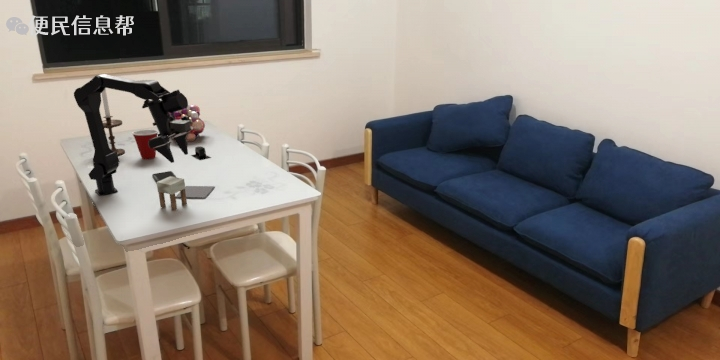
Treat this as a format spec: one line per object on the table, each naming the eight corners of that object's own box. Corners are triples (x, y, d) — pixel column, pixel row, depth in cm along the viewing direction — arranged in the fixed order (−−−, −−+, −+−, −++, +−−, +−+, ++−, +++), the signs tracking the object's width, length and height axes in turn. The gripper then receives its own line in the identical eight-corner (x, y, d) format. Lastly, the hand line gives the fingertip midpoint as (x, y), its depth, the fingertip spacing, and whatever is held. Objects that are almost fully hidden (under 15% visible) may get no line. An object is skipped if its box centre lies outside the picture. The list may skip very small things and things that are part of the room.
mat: (175, 198, 204) (175, 196, 203) (186, 187, 214) (186, 185, 214) (205, 198, 203) (205, 197, 203) (214, 187, 213) (214, 186, 213)
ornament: (213, 137, 284) (198, 100, 284) (204, 133, 265) (188, 94, 264) (179, 150, 283) (164, 113, 283) (168, 147, 264) (152, 108, 263)
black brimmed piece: (214, 159, 247) (213, 149, 246) (199, 162, 243) (198, 152, 241) (201, 152, 256) (200, 143, 254) (186, 156, 252) (185, 146, 250)
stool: (160, 207, 195) (156, 182, 192) (173, 201, 201) (170, 176, 197) (174, 210, 193) (170, 184, 189) (187, 204, 198) (184, 178, 195)
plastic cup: (165, 153, 253) (162, 128, 249) (155, 161, 243) (151, 134, 239) (142, 153, 254) (138, 127, 250) (131, 161, 244) (127, 134, 240)
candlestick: (121, 157, 249) (107, 78, 237) (97, 157, 250) (82, 78, 237) (131, 149, 260) (118, 73, 247) (107, 150, 260) (94, 74, 248)
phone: (159, 185, 214) (151, 174, 226) (159, 188, 214) (152, 176, 226) (180, 181, 217) (171, 170, 230) (180, 184, 218) (172, 173, 230)
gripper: (165, 116, 183) (185, 161, 187) (194, 104, 200) (211, 145, 204) (138, 125, 186) (158, 169, 190) (169, 112, 203) (186, 152, 207)
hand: (179, 158), depth 198 cm, fingers open, 9 cm apart
